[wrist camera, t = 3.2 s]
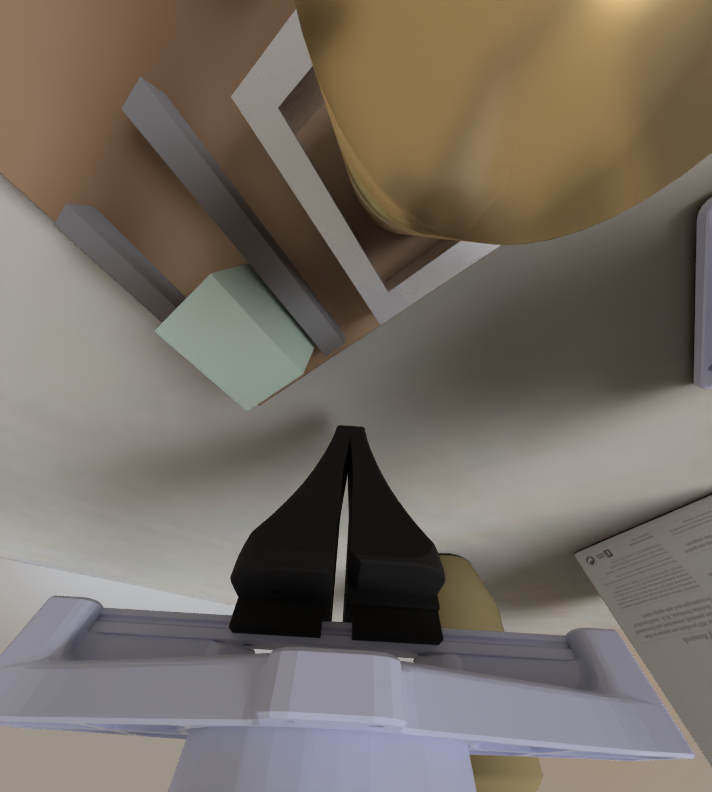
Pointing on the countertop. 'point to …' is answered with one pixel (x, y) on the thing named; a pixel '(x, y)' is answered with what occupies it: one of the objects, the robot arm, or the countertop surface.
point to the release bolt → (239, 336)
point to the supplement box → (665, 605)
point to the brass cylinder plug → (511, 108)
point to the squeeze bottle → (476, 610)
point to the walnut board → (176, 156)
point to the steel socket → (277, 131)
